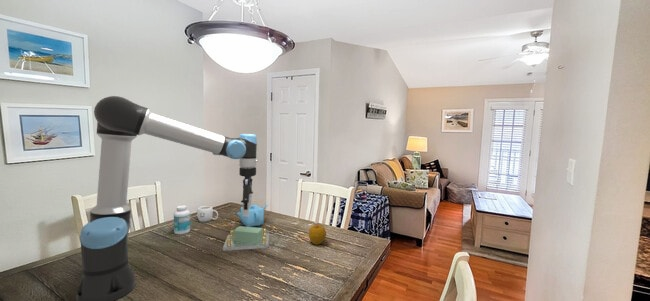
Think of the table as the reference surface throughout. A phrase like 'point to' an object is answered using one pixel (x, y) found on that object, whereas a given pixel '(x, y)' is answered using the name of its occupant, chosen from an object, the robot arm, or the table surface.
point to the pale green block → (248, 234)
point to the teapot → (253, 216)
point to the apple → (317, 234)
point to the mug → (205, 213)
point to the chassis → (246, 243)
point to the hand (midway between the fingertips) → (247, 211)
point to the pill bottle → (181, 220)
